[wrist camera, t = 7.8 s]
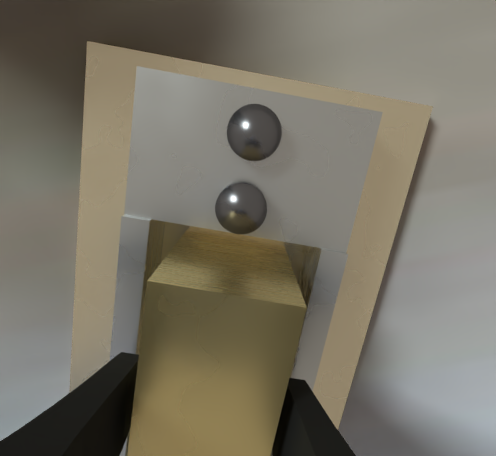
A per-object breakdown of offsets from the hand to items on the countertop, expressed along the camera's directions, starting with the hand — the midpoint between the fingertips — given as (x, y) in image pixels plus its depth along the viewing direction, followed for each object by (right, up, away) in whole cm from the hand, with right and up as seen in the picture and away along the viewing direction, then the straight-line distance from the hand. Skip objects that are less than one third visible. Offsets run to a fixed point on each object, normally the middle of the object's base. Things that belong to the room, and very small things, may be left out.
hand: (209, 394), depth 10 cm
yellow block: (0, +1, +3) cm, 3 cm away
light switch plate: (0, +1, +3) cm, 3 cm away
